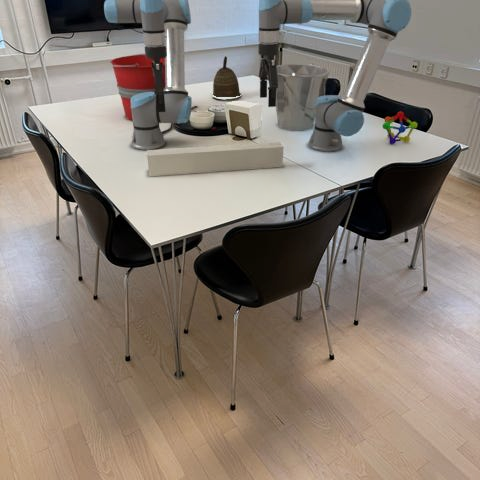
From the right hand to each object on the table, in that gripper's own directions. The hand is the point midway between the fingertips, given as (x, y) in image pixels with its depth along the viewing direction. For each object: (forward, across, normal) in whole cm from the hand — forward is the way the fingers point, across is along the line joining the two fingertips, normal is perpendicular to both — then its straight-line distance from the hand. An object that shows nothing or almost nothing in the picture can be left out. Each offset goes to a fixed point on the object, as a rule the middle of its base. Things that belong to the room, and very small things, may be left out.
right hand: (267, 101), depth 173 cm
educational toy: (+28, +15, -67) cm, 74 cm away
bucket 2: (+27, +50, -28) cm, 64 cm away
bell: (+27, +113, -2) cm, 116 cm away
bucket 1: (+26, +82, +47) cm, 98 cm away
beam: (+26, 0, +21) cm, 34 cm away
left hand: (-1, 0, +41) cm, 41 cm away
